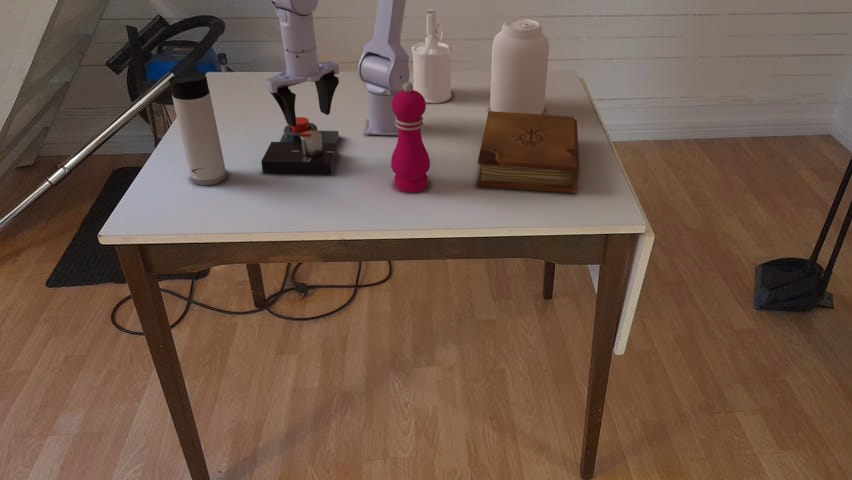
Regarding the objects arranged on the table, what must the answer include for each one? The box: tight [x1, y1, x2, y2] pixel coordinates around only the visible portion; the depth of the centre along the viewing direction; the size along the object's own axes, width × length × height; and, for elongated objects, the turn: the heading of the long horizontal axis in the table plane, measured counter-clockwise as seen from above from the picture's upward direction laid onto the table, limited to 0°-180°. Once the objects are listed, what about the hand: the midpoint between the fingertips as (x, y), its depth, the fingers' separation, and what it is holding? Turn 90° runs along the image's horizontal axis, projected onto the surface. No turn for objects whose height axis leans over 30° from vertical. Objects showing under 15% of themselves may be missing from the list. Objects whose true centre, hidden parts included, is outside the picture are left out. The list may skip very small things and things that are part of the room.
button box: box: [279, 122, 340, 144], centre depth 145 cm, size 11×7×4 cm, turn 91°
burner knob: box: [300, 130, 323, 157], centre depth 136 cm, size 4×4×4 cm
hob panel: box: [260, 141, 339, 176], centre depth 138 cm, size 13×8×3 cm, turn 91°
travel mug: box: [168, 73, 227, 186], centre depth 127 cm, size 6×7×20 cm
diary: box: [476, 110, 580, 194], centre depth 140 cm, size 23×19×6 cm
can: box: [489, 18, 550, 115], centre depth 157 cm, size 12×12×20 cm
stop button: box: [291, 116, 310, 133], centre depth 143 cm, size 4×4×2 cm
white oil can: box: [410, 8, 453, 104], centre depth 162 cm, size 10×9×20 cm
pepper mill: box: [390, 81, 431, 194], centre depth 127 cm, size 7×7×20 cm
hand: (308, 118), depth 134 cm, fingers open, 7 cm apart
